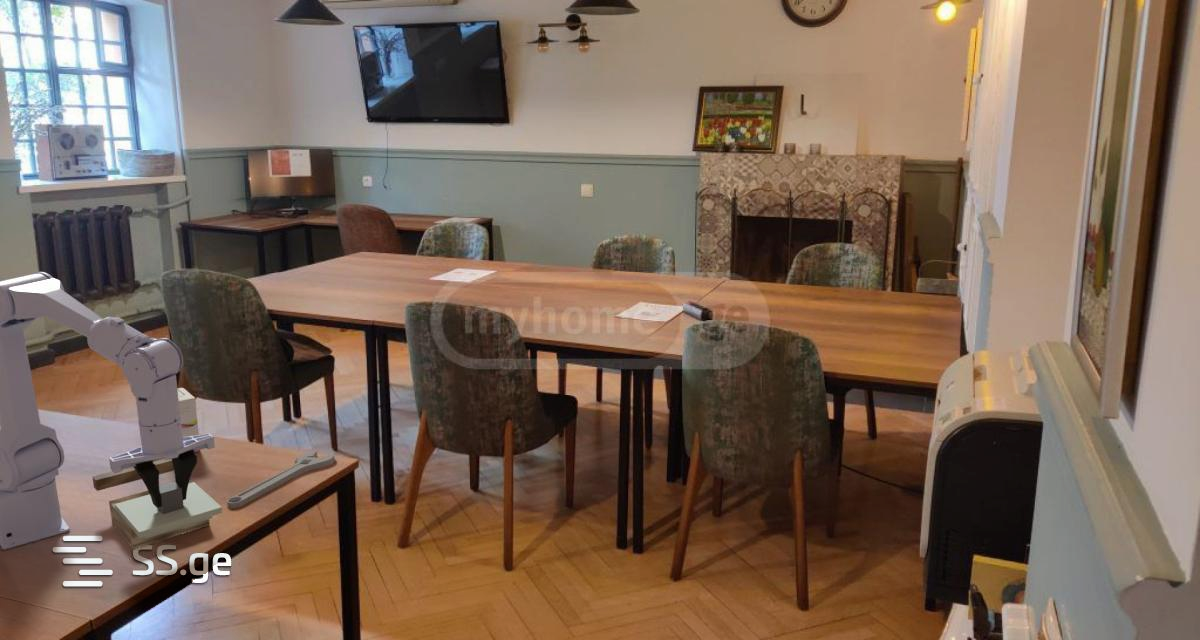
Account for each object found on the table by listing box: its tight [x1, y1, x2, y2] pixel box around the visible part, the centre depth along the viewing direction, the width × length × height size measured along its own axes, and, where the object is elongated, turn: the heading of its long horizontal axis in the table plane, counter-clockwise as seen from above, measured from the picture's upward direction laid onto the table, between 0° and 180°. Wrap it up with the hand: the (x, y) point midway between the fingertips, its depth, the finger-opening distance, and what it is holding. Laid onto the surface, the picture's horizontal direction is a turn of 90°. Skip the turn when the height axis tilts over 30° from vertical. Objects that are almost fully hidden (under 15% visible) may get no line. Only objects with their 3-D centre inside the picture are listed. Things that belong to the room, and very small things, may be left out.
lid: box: [115, 481, 223, 538], centre depth 136 cm, size 12×12×6 cm
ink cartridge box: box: [177, 387, 201, 454], centre depth 177 cm, size 9×5×15 cm, turn 42°
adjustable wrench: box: [226, 450, 336, 509], centre depth 166 cm, size 25×6×2 cm, turn 150°
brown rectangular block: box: [92, 459, 174, 492], centre depth 153 cm, size 14×2×2 cm, turn 133°
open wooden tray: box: [108, 490, 211, 550], centre depth 148 cm, size 12×12×4 cm
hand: (169, 501), depth 135 cm, fingers closed on lid, 3 cm apart
